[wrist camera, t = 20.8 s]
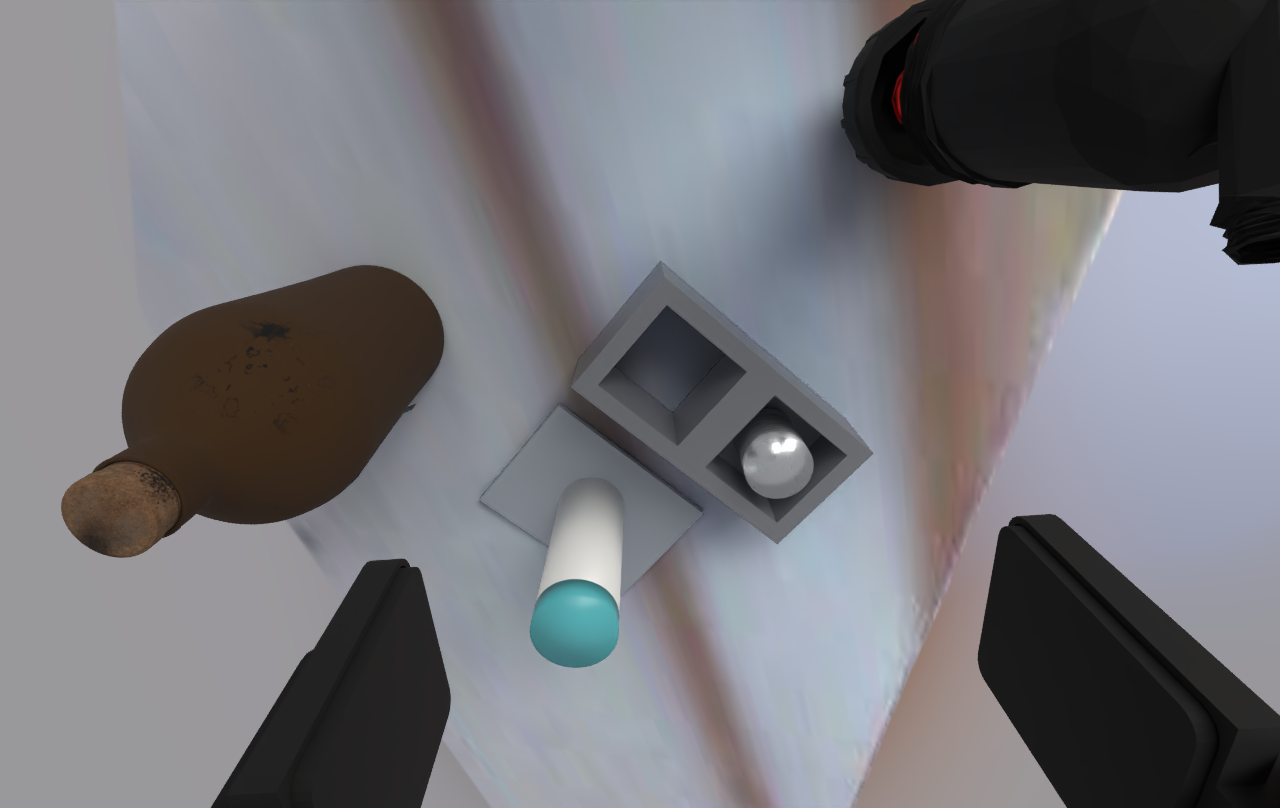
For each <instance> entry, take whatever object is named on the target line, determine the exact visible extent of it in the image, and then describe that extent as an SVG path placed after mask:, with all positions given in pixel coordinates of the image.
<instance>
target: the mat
mask: <svg viewBox="0 0 1280 808" xmlns="http://www.w3.org/2000/svg"><path fill="white" fill-rule="evenodd" d="M590 477H593V478H599V479H603V480H606V481H608V482H609V483H611V484H612V485H614V486H615V487H616V488H617V489H618V490H619V492H620V493H621V495H622V497H623V500H624V525H623V546H622V567H621V588H620V596H621V597H622V595H623V594H624V593H625V592H626V591H627V590H628V589H629V588H630V587H631V586H632V585H633V584H634V583H635V582H636V581H637V580H638V579H639V578H640V577H641V576H642V575H643V574H644V573H645V572H646V571H647V570H648V569H649V568H650V567H651V566H652V565H653V564H654V563H655V562H656V561H657V560H658V559H659V558H660V557H661V556H662V555H663V554H664V553H665V552H666V551H667V550H668V549H669V548H670V547H671V546H672V545H673V544H674V543H675V542H676V541H677V540H678V539H679V538H680V537H681V536H682V535H683V534H684V533H685V532H686V531H687V530H688V529H689V528H690V527H691V526H692V525H693V524H694V523H695V522H696V521H697V520H698V519H699V518H700V517H701V516H702V515H703V510H702V509H701V508H699V507H698V506H697V505H695V504H694V503H693V502H691V501H690V500H689V499H687V498H686V497H685V496H683V495H682V494H681V493H679V492H678V491H677V490H675V489H674V488H673V487H671V486H670V485H669V484H667V483H666V482H665V481H663V480H662V479H661V478H659V477H658V476H657V475H655V474H654V473H653V472H651V471H650V470H649V469H647V468H646V467H645V466H643V465H642V464H641V463H639V462H638V461H637V460H635V459H634V458H633V457H631V456H630V455H629V454H627V453H626V452H625V451H623V450H622V449H621V448H619V447H618V446H617V445H615V444H614V443H613V442H611V441H610V440H609V439H607V438H606V437H605V436H603V435H602V434H601V433H599V432H598V431H596V430H595V429H594V428H592V427H591V426H590V425H588V424H587V423H586V422H584V421H583V420H582V419H580V418H579V417H578V416H576V415H575V414H574V413H572V412H571V411H570V410H568V409H567V408H566V407H564V406H563V405H562V404H560V403H559V405H558V406H557V407H556V408H555V409H554V411H553V412H552V413H551V414H550V415H549V416H548V418H547V419H546V420H545V421H544V422H543V424H542V425H541V426H540V427H539V428H538V429H537V431H536V432H535V433H534V434H533V435H532V437H531V438H530V439H529V440H528V441H527V442H526V444H525V445H524V446H523V447H522V448H521V450H520V451H519V452H518V453H517V454H516V455H515V457H514V458H513V459H512V460H511V461H510V463H509V464H508V465H507V466H506V467H505V468H504V470H503V471H502V472H501V473H500V474H499V476H498V477H497V478H496V479H495V480H494V481H493V483H492V484H491V485H490V486H489V487H488V489H487V490H486V491H485V492H484V493H483V495H482V496H481V497H480V501H481V502H483V503H484V504H486V505H487V506H489V507H490V508H492V509H493V510H495V511H496V512H498V513H499V514H501V515H502V516H503V517H505V518H506V519H508V520H509V521H511V522H512V523H514V524H515V525H517V526H518V527H520V528H521V529H523V530H524V531H526V532H527V533H528V534H530V535H531V536H533V537H534V538H536V539H537V540H539V541H540V542H542V543H543V544H545V545H546V546H548V547H549V544H550V539H551V535H552V531H553V527H554V522H555V518H556V514H557V509H558V505H559V501H560V497H561V494H562V493H563V491H564V490H565V488H566V487H567V486H568V485H570V484H571V483H572V482H574V481H576V480H579V479H582V478H590Z"/></svg>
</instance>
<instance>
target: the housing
mask: <svg viewBox="0 0 1280 808" xmlns="http://www.w3.org/2000/svg"><path fill="white" fill-rule="evenodd" d="M666 305H667V306H669V307H670V308H671V309H672V310H673V311H675V312H676V313H677V314H678V315H679V316H681V317H682V318H683V319H684V320H685V321H687V322H688V323H689V324H690V325H691V326H693V327H694V328H695V329H696V330H697V331H699V332H700V333H701V334H702V335H703V336H705V337H706V338H707V339H708V340H709V341H711V342H712V343H713V344H714V345H715V346H717V347H718V348H719V349H720V350H721V351H723V352H724V353H725V355H724V356H723V357H722V358H721V360H720V361H719V362H718V363H717V364H716V365H715V366H714V367H713V368H712V369H711V371H710V372H709V373H708V374H707V375H706V376H705V377H704V378H703V379H702V380H701V381H700V383H699V384H698V385H697V386H696V387H695V388H694V389H693V390H692V391H691V392H690V393H689V395H688V396H687V397H686V398H685V399H684V400H683V401H682V402H681V403H680V404H679V405H678V407H677V408H676V409H675V410H674V411H673V412H671V411H670V410H669V409H668V408H666V407H665V406H664V405H663V404H661V403H660V402H659V401H657V400H656V399H655V398H654V397H652V396H651V395H650V394H648V393H647V392H646V391H645V390H643V389H642V388H641V387H640V386H638V385H637V384H636V383H634V382H633V381H632V380H631V379H629V378H628V377H627V376H626V375H624V374H623V373H622V372H620V371H619V370H618V369H617V368H615V367H614V366H615V365H616V364H617V362H618V361H619V360H620V359H621V358H622V357H623V355H624V354H625V353H626V352H627V351H628V350H629V348H630V347H631V346H632V345H633V344H634V343H635V341H636V340H637V339H638V338H639V337H640V336H641V334H642V333H643V332H644V331H645V330H646V329H647V327H648V326H649V325H650V324H651V323H652V322H653V320H654V319H655V318H656V317H657V316H658V315H659V313H660V312H661V311H662V310H663V309H664V308H665V306H666ZM571 388H572V389H573V390H575V391H576V392H577V393H579V394H580V395H581V396H583V397H584V398H585V399H587V400H588V401H589V402H591V403H592V404H593V405H595V406H596V407H597V408H598V409H600V410H601V411H602V412H604V413H605V414H606V415H608V416H609V417H610V418H612V419H613V420H614V421H616V422H617V423H618V424H620V425H621V426H622V427H624V428H625V429H626V430H627V431H629V432H630V433H631V434H633V435H634V436H635V437H637V438H638V439H639V440H641V441H642V442H643V443H645V444H646V445H647V446H649V447H650V448H651V449H652V450H654V451H655V452H656V453H658V454H659V455H660V456H662V457H663V458H664V459H666V460H667V461H668V462H670V463H671V464H672V465H674V466H675V467H676V468H678V469H679V470H680V471H681V472H683V473H684V474H685V475H687V476H688V477H689V478H691V479H692V480H693V481H695V482H696V483H697V484H699V485H700V486H701V487H703V488H704V489H705V490H707V491H708V492H709V493H710V494H712V495H713V496H714V497H716V498H717V499H718V500H720V501H721V502H722V503H724V504H725V505H726V506H728V507H729V508H730V509H732V510H733V511H734V512H735V513H737V514H738V515H739V516H741V517H742V518H743V519H745V520H746V521H747V522H749V523H750V524H751V525H753V526H754V527H755V528H757V529H758V530H759V531H761V532H762V533H763V534H764V535H766V536H767V537H768V538H770V539H771V540H772V541H774V542H775V543H776V544H778V543H779V542H780V541H781V540H782V539H783V538H785V537H786V536H787V535H788V534H789V533H790V532H791V531H792V530H793V529H794V528H795V527H796V526H797V525H798V524H799V523H800V522H801V521H802V520H804V519H805V518H806V517H807V516H808V515H809V514H810V513H811V512H812V511H813V510H814V509H815V508H816V507H817V506H818V505H819V504H820V503H822V502H823V501H824V500H825V499H826V498H827V497H828V496H829V495H830V494H831V493H832V492H833V491H834V490H835V489H836V488H837V487H838V486H839V485H841V484H842V483H843V482H844V481H845V480H846V479H847V478H848V477H849V476H850V475H851V474H852V473H853V472H854V471H855V470H856V469H857V468H859V467H860V466H861V465H862V464H863V463H864V462H865V461H866V460H867V459H868V458H869V457H870V456H871V455H872V454H873V452H872V451H871V450H870V448H869V447H868V446H867V445H866V443H865V442H864V441H863V440H862V438H861V437H860V436H859V435H858V433H857V432H856V431H855V430H854V428H853V427H852V426H851V425H850V424H849V422H848V421H847V420H846V419H845V418H844V417H843V416H842V415H841V414H840V413H838V412H837V411H836V410H835V409H834V408H833V407H831V406H830V405H829V404H828V403H827V402H826V401H824V400H823V399H822V398H821V397H820V396H818V395H817V394H816V393H815V392H814V391H813V390H811V389H810V388H809V387H808V386H807V385H806V384H804V383H803V382H802V381H801V380H800V379H799V378H797V377H796V376H795V375H794V374H793V373H792V372H790V371H789V370H788V369H787V368H786V367H784V366H783V365H782V364H781V363H780V362H779V361H777V360H776V359H775V358H774V357H773V356H772V355H770V354H769V353H768V352H767V351H766V350H765V349H763V348H762V347H761V346H760V345H759V344H757V343H756V342H755V341H754V340H753V339H752V338H750V337H749V336H748V335H747V334H746V333H745V332H743V331H742V330H741V329H740V328H739V327H738V326H736V325H735V324H734V323H733V322H732V321H730V320H729V319H728V318H727V317H726V316H725V315H723V314H722V313H721V312H720V311H719V310H718V309H716V308H715V307H714V306H713V305H712V304H711V303H709V302H708V301H707V300H706V299H705V298H704V297H702V296H701V295H700V294H699V293H698V292H696V291H695V290H694V289H693V288H692V287H691V286H689V285H688V284H687V283H686V282H685V281H684V280H682V279H681V278H680V277H679V276H678V275H677V274H675V273H674V272H673V271H672V270H671V269H669V268H668V267H667V266H666V265H665V264H664V263H662V262H661V261H660V262H659V263H658V265H657V266H656V267H655V268H654V269H653V271H652V272H651V273H650V274H649V275H648V277H647V278H646V279H645V280H644V281H643V283H642V284H641V285H640V286H639V287H638V289H637V290H636V291H635V292H634V293H633V295H632V296H631V297H630V298H629V299H628V301H627V302H626V303H625V304H624V305H623V307H622V308H621V309H620V310H619V311H618V313H617V314H616V315H615V316H614V317H613V319H612V320H611V321H610V322H609V323H608V325H607V326H606V327H605V328H604V329H603V331H602V332H601V333H600V334H599V335H598V337H597V338H596V339H595V340H594V341H593V343H592V344H591V345H590V346H589V347H588V349H587V350H586V351H585V352H584V353H583V355H582V356H581V357H580V358H579V359H578V363H577V367H576V370H575V374H574V378H573V382H572V385H571ZM763 408H771V409H776V410H779V411H781V412H783V413H784V414H786V415H787V416H788V417H789V418H790V420H791V421H792V423H793V424H794V426H795V428H796V429H797V431H798V433H799V434H800V436H801V438H802V439H803V441H804V443H805V445H806V446H807V448H808V450H809V451H810V453H811V455H812V458H813V465H814V466H813V473H812V476H811V478H810V480H809V482H808V483H807V485H806V486H805V487H804V488H803V489H802V490H800V491H799V492H798V493H796V494H794V495H792V496H789V497H786V498H780V499H773V498H767V497H764V496H762V495H760V494H758V493H756V492H755V491H754V490H753V489H752V488H751V487H750V485H749V484H748V482H747V479H746V477H745V474H744V471H743V468H742V465H741V462H740V459H739V457H738V454H737V451H736V448H735V444H734V437H735V436H736V435H737V434H738V433H739V432H740V431H741V430H742V429H743V428H744V427H745V426H746V425H747V424H748V423H749V422H750V420H751V419H752V418H753V417H754V416H755V415H756V414H757V413H758V412H759V411H760V410H761V409H763Z"/></svg>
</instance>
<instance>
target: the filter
mask: <svg viewBox="0 0 1280 808" xmlns="http://www.w3.org/2000/svg"><path fill="white" fill-rule="evenodd" d="M843 86H844V87H845V92H844V99H843V105H842V107H843V115H844V119H842V120H841V126H842V128H843V129H844V128H845V131H846V134H847V136H848V138H849V140H850V142H851V144H852V146H853V148H854V150H855V152H856V157H857V158H858V159H859V160H860V161H861V162H863V163H866V164H867V165H868V166H869V167H870V168H871V169H873V170H875V171H877V172H879V173H881V174H883V175H884V176H886V177H887V178H889V179H892V180H897V181H902V182H908V183H913V184H918V185H924V186H933V185H937V184H942V183H948V182H952V181H957V180H961V181H964V182H967V183H970V184H983V185H989V186H991V187H1000V188H1019V187H1022V186H1025V185H1029V184H1032V183H1039V184H1052V185H1065V186H1078V187H1091V188H1104V189H1117V190H1132V191H1148V192H1184V191H1188V190H1192V189H1197V188H1201V187H1205V186H1209V185H1214V184H1218V183H1219V204H1218V207H1217V209H1216V211H1215V213H1214V216H1213V219H1212V220H1211V223H1210V225H1211V226H1215V227H1218V228H1222V229H1226V231H1225V233H1224V234H1223V237H1225V238H1226V239H1228V243H1227V246H1226V247H1225V248H1224V249H1223V250H1222V251H1224V252H1225V253H1226V254H1227V255H1228V256H1229V257H1230V258H1231V259H1232V260H1233V261H1234V262H1236V263H1237V264H1238V265H1247V264H1265V263H1266V264H1267V263H1279V262H1280V0H925V1H923V2H920V3H917V4H915V5H912V6H911V7H910V8H909V9H908V10H906V11H905V12H904V13H903V14H902V15H900V16H899V17H897V18H896V19H894V20H892V21H891V22H889V23H888V24H886V25H885V26H884V27H883V28H882V29H881V30H879V31H878V32H876V33H875V34H873V35H872V36H871V37H870V38H869V39H868V40H867V41H866V44H865V46H864V47H863V49H862V50H861V52H860V53H859V55H858V56H857V57H856V59H855V61H854V63H853V66H852V68H851V70H850V73H849V74H848V75H846V76H845V79H844V83H843Z"/></svg>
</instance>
